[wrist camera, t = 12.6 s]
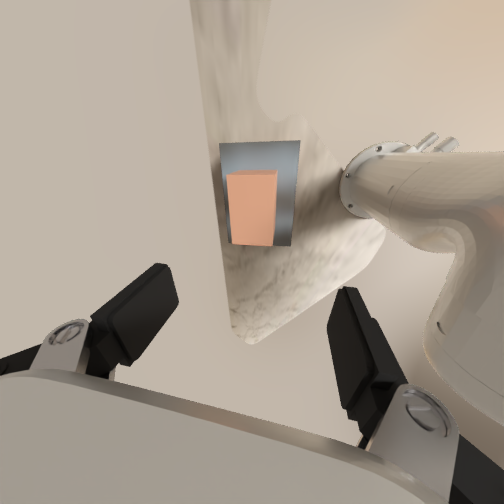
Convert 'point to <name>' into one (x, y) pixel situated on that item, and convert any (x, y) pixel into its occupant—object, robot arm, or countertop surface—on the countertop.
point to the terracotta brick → (252, 206)
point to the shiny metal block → (266, 158)
